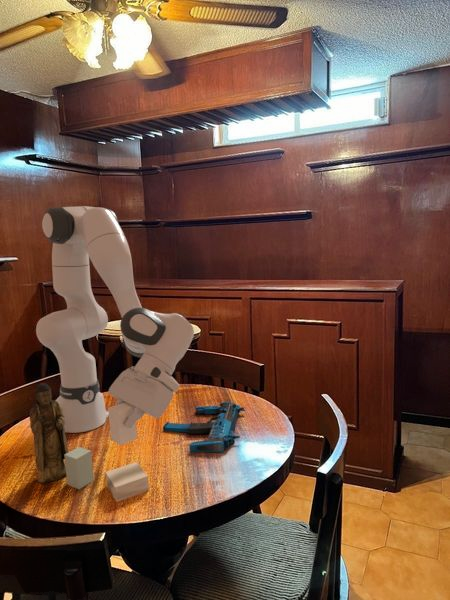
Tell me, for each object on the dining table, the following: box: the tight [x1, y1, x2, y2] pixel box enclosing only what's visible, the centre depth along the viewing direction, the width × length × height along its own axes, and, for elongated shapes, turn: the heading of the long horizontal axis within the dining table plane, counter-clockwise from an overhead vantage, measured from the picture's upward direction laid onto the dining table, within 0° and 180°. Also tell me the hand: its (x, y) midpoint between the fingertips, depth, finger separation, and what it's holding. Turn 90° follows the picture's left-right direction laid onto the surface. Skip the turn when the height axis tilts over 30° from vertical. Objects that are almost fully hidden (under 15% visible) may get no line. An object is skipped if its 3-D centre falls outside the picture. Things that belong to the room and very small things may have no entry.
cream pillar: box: [107, 402, 138, 446], centre depth 103 cm, size 4×4×8 cm
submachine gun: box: [162, 398, 246, 453], centre depth 138 cm, size 34×4×25 cm
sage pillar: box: [64, 446, 95, 490], centre depth 108 cm, size 4×4×8 cm
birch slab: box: [104, 461, 150, 503], centre depth 105 cm, size 8×8×4 cm
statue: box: [29, 382, 69, 485], centre depth 109 cm, size 9×9×25 cm
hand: (120, 422), depth 102 cm, fingers closed on cream pillar, 4 cm apart
